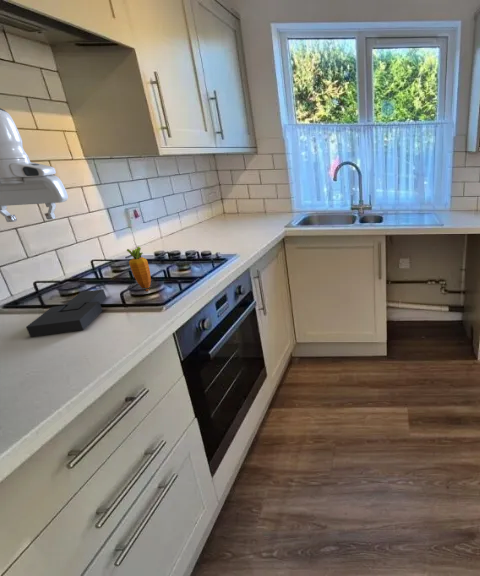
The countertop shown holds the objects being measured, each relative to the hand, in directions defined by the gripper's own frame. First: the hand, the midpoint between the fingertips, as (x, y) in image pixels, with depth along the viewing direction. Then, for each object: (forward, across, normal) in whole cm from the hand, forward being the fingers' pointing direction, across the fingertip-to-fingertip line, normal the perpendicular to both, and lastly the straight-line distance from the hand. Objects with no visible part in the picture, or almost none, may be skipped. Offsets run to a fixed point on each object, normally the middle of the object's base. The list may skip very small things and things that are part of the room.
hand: (32, 220), depth 104 cm
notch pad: (+25, +10, -20) cm, 33 cm away
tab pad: (+25, +10, -11) cm, 29 cm away
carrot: (+25, +24, -2) cm, 35 cm away
